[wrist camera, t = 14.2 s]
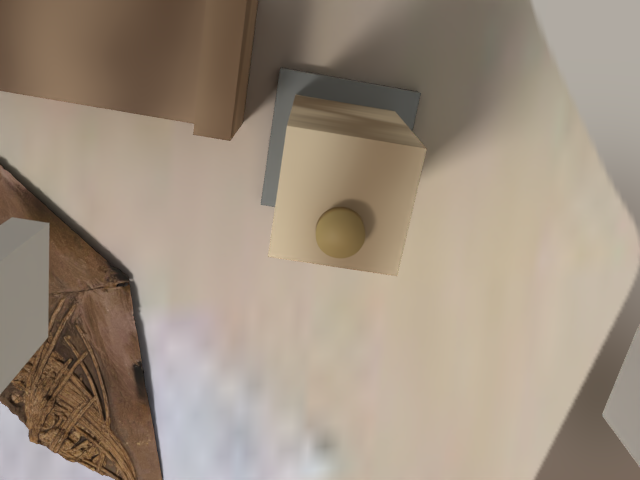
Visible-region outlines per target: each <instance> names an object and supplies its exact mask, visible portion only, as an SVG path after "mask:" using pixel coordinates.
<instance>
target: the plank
mask: <svg viewBox="0 0 640 480" xmlns="http://www.w3.org/2000/svg"><path fill="white" fill-rule="evenodd" d="M257 7H258V0H0V91H5V92H11V93H17V94H22V95H28V96H34V97H40V98H46V99H52V100H58V101H64V102H70V103H76V104H81V105H87V106H93V107H99V108H105V109H111V110H117V111H123V112H129V113H134V114H140V115H146V116H152V117H158V118H164V119H170V120H176V121H182V122H187V123H193V124H194V132H193V135H198V136H204V137H210V138H216V139H222V140H228V141H230V140H231V139H232V138H233V136H234V135H235V133H236V132H237V130H238V129H239V128H240V126H241V125H242V123H243V119H244V111H245V103H246V95H247V87H248V79H249V71H250V63H251V55H252V47H253V39H254V31H255V23H256V15H257Z"/></svg>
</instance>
